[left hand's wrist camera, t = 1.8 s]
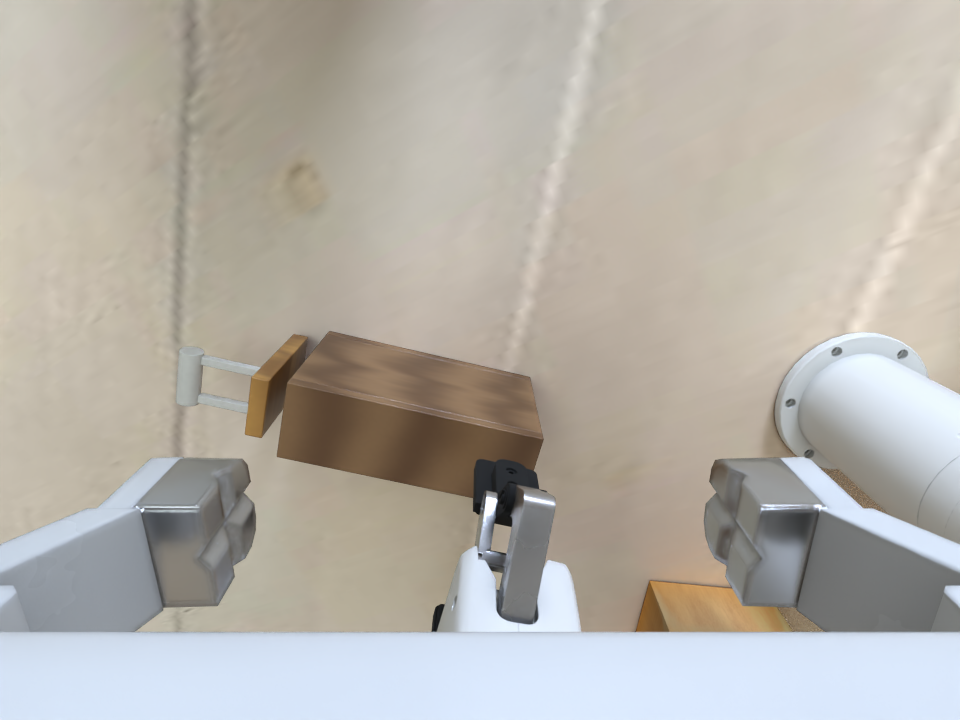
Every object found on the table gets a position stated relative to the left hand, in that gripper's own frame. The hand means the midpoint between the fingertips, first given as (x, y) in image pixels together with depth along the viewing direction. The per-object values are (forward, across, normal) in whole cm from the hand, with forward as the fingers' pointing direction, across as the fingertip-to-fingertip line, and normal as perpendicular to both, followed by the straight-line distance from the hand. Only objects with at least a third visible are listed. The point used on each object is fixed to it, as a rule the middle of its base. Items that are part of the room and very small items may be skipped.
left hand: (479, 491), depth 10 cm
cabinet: (+38, +5, +13) cm, 40 cm away
